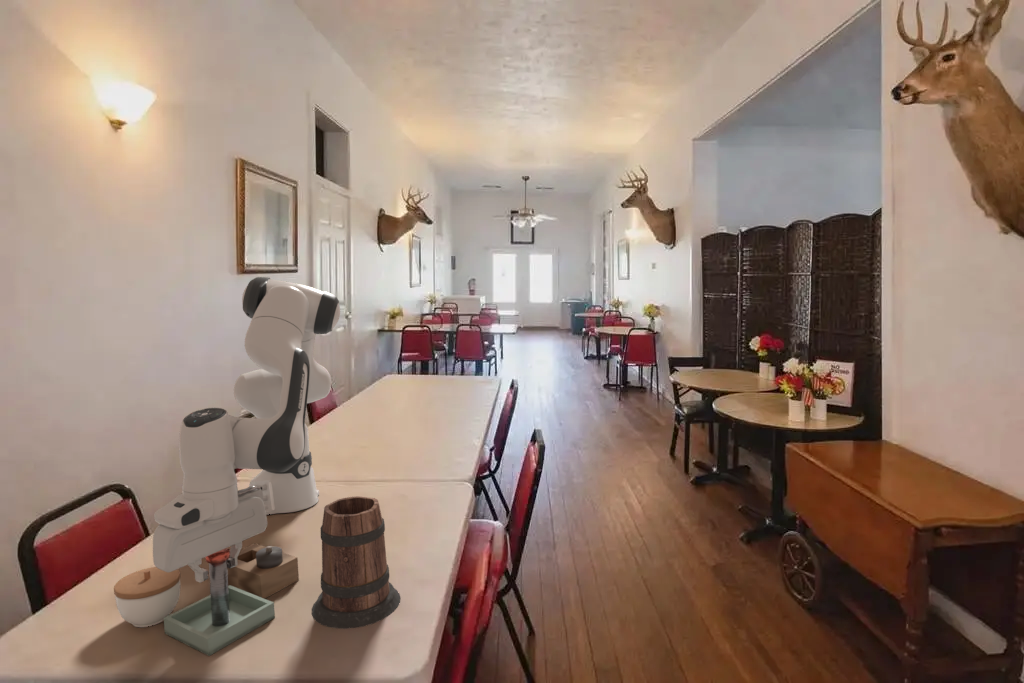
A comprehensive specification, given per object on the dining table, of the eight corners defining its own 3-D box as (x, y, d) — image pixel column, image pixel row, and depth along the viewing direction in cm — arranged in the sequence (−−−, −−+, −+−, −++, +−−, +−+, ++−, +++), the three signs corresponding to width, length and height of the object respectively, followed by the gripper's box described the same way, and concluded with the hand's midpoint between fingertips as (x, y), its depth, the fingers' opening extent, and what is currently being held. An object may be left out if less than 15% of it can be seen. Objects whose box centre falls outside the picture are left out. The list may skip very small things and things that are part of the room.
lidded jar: (136, 604, 120) (132, 559, 119) (193, 601, 121) (189, 556, 120) (104, 636, 109) (99, 587, 108) (167, 632, 110) (162, 583, 109)
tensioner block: (218, 582, 128) (215, 544, 127) (256, 564, 136) (253, 528, 135) (262, 599, 121) (259, 559, 120) (298, 580, 128) (296, 541, 127)
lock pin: (204, 624, 111) (200, 554, 110) (224, 614, 115) (220, 546, 114) (217, 630, 109) (213, 558, 108) (237, 619, 113) (234, 550, 112)
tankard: (409, 615, 114) (405, 512, 112) (315, 637, 108) (309, 529, 106) (384, 562, 136) (380, 475, 134) (304, 578, 129) (299, 486, 127)
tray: (164, 633, 110) (163, 617, 110) (231, 599, 121) (230, 585, 121) (209, 655, 103) (207, 639, 103) (274, 617, 114) (273, 602, 114)
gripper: (251, 479, 120) (255, 547, 122) (144, 516, 103) (151, 594, 104) (272, 485, 117) (276, 554, 118) (165, 523, 99) (172, 604, 101)
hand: (217, 573), depth 111 cm, fingers open, 4 cm apart
